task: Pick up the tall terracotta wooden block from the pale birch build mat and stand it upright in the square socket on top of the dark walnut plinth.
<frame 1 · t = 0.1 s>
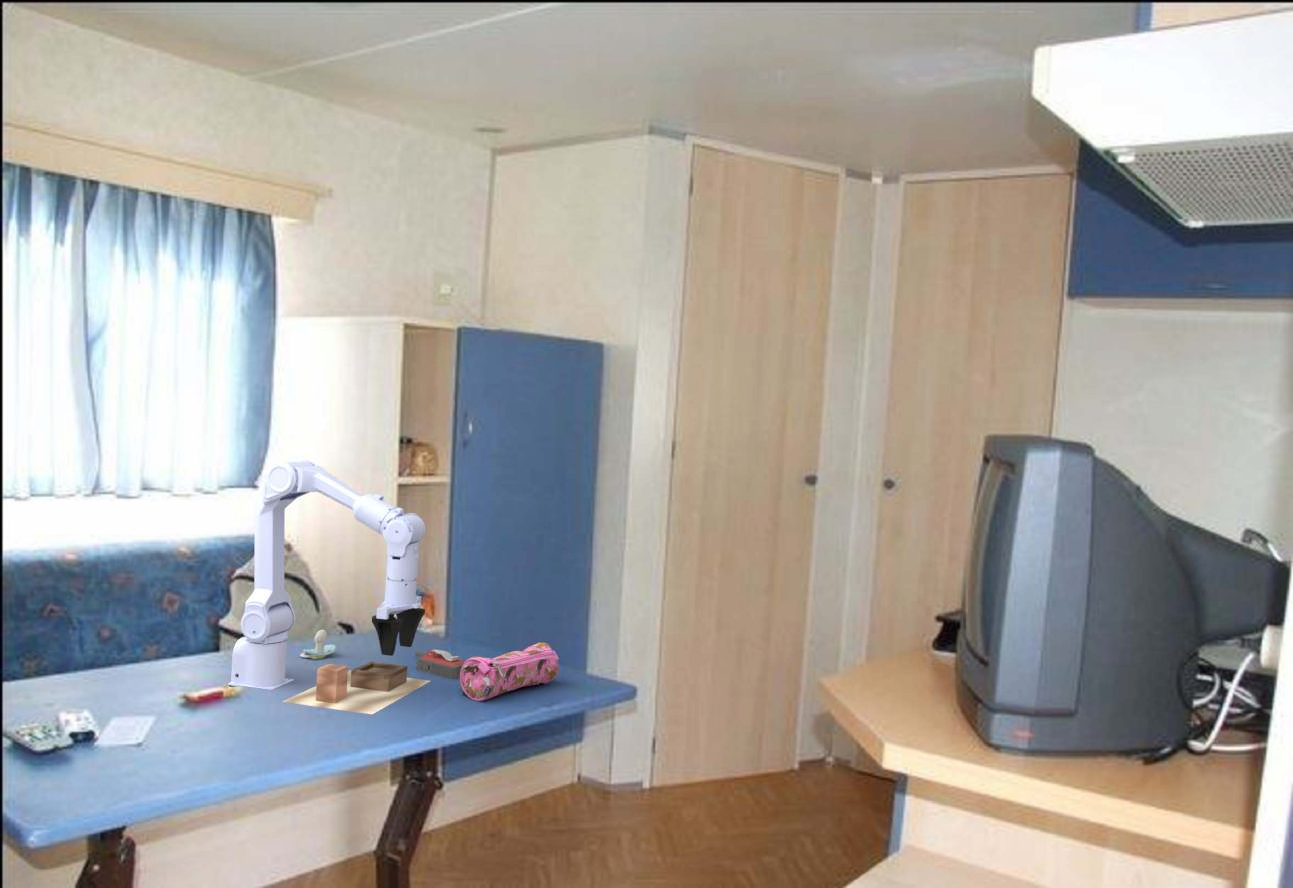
hand: (396, 650, 192), 10 cm above the table, tool pointing down, fingers open, 7 cm apart
grey red box: (437, 670, 220), on the table
pencil case: (509, 693, 206), on the table
block: (331, 699, 190), point 1 cm above the table, touching build mat
build mat: (360, 693, 197), on the table
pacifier: (316, 657, 223), on the table
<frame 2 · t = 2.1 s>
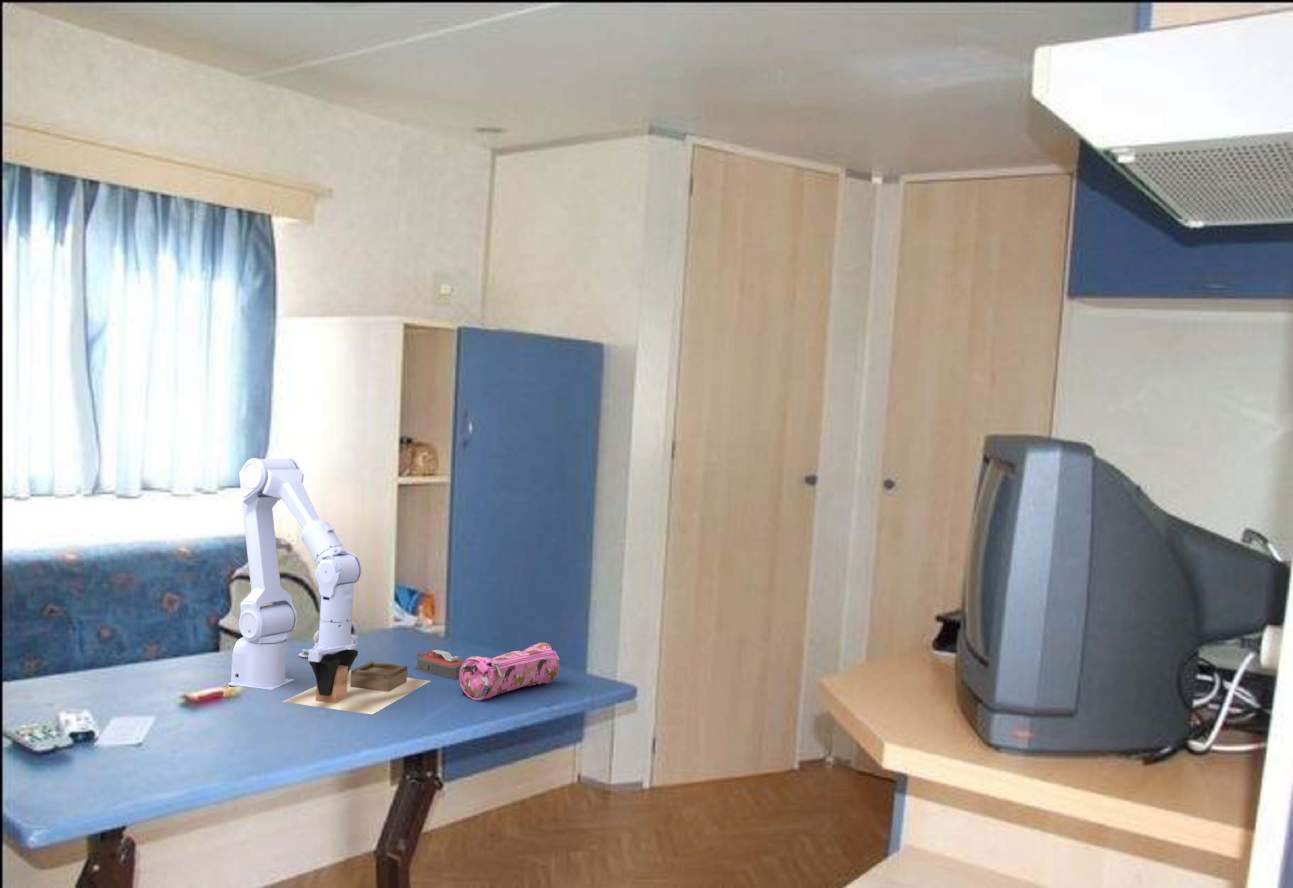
hand: (331, 691, 190), 2 cm above the table, tool pointing down, fingers closed on block, 4 cm apart
block: (331, 699, 190), point 1 cm above the table, touching build mat, gripper
everything else where it was.
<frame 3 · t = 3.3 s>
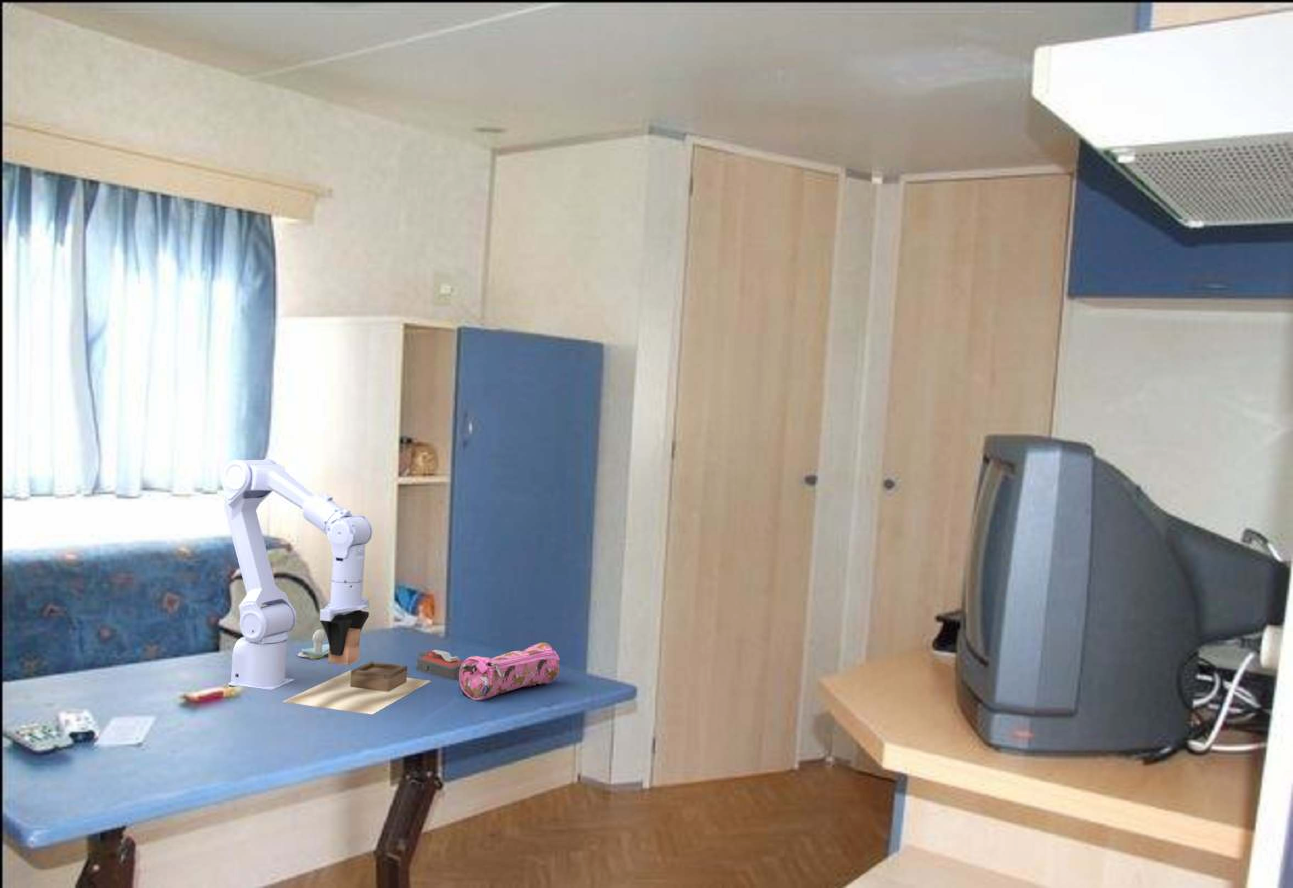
hand: (342, 652, 192), 9 cm above the table, tool pointing down, fingers closed on block, 4 cm apart
block: (343, 661, 192), point 7 cm above the table, touching gripper
everything else where it was.
when the fingers open (6 cm above the table, at t = 4.9 s): block stays where it is, resting on build mat.
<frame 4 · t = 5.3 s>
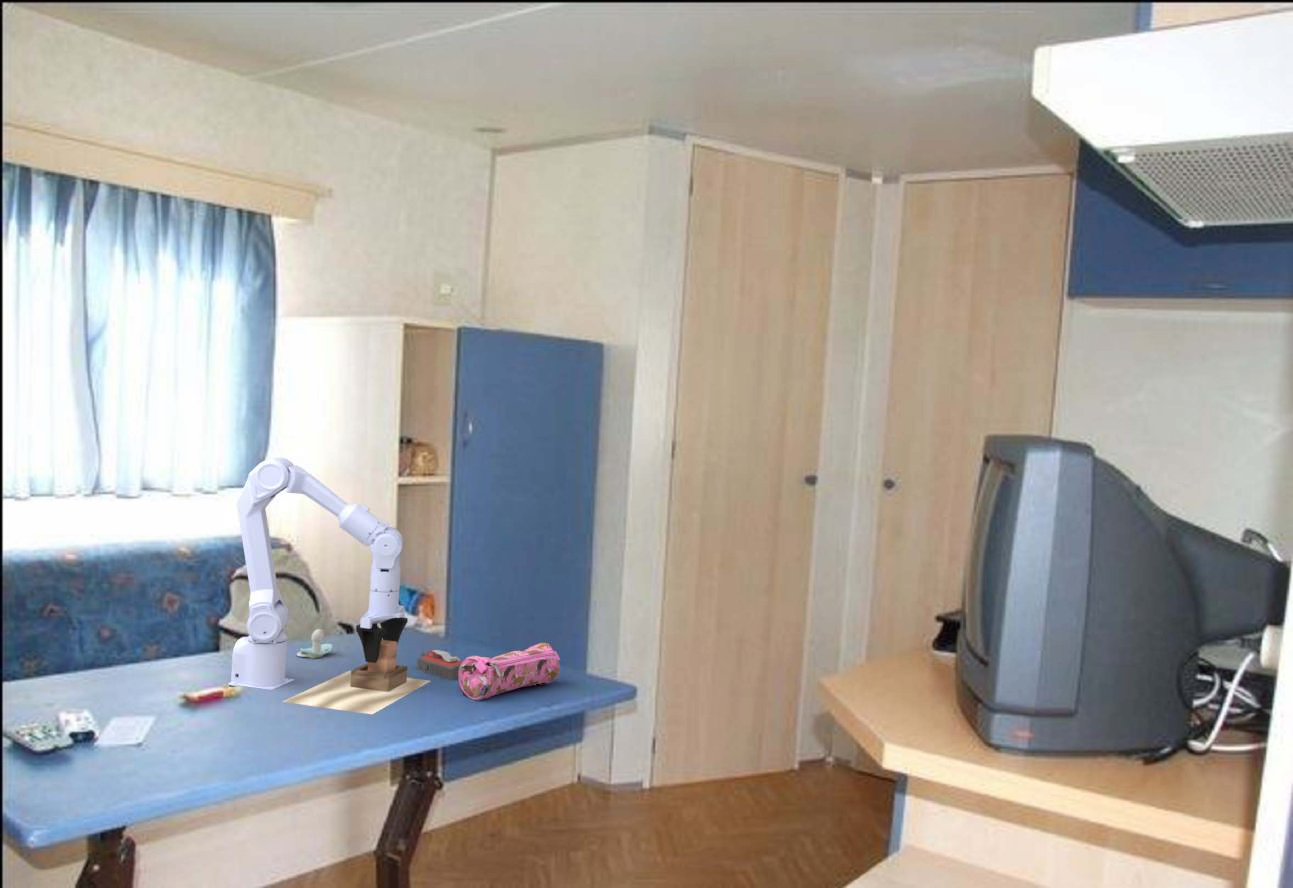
hand: (380, 657, 202), 6 cm above the table, tool pointing down, fingers open, 7 cm apart
block: (381, 672, 202), point 3 cm above the table, touching build mat
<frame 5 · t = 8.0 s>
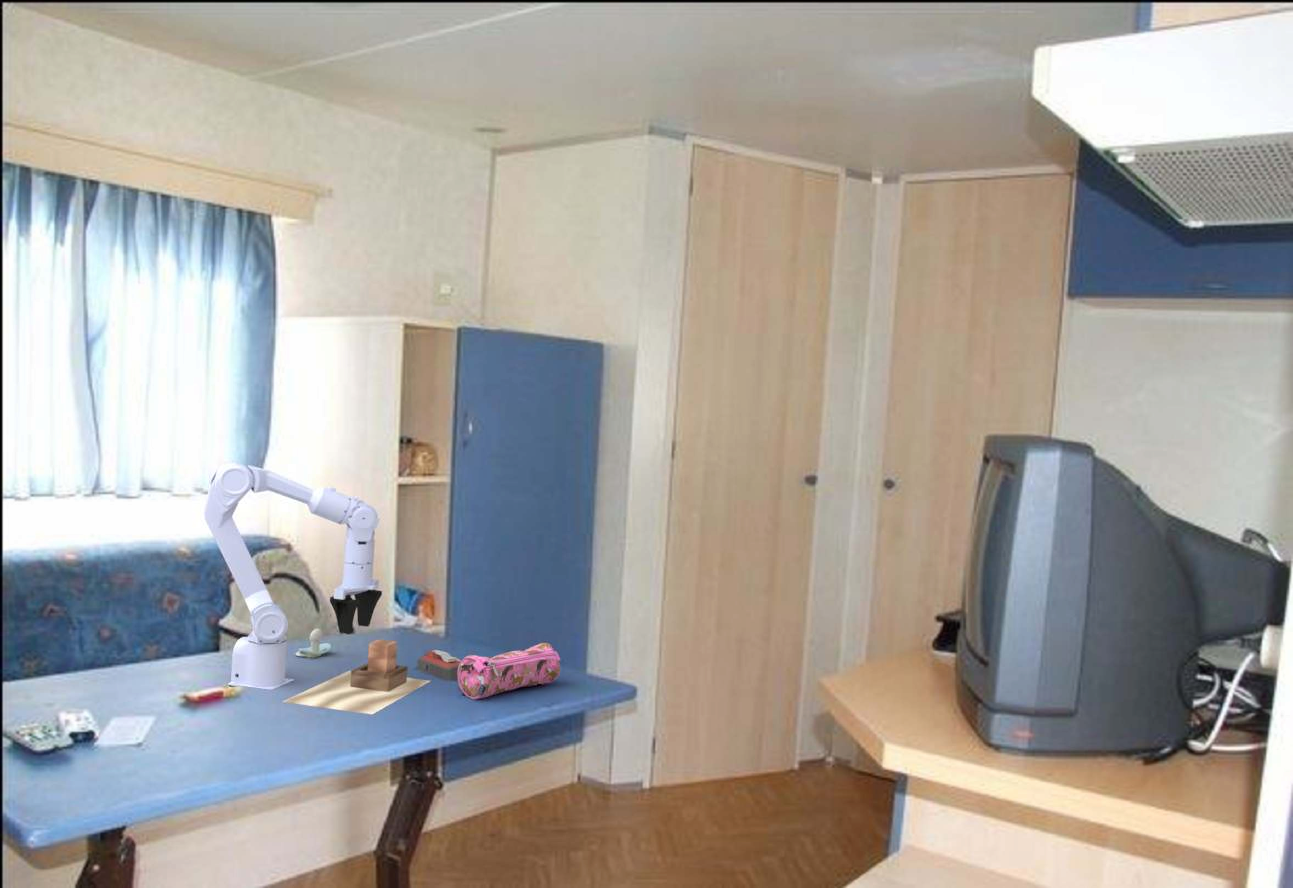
hand: (354, 629, 205), 10 cm above the table, tool pointing down, fingers open, 7 cm apart
at the end: block 0.4 cm from the target spot, point 3.0 cm above the table; block tilted 0°; the gripper is holding nothing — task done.
